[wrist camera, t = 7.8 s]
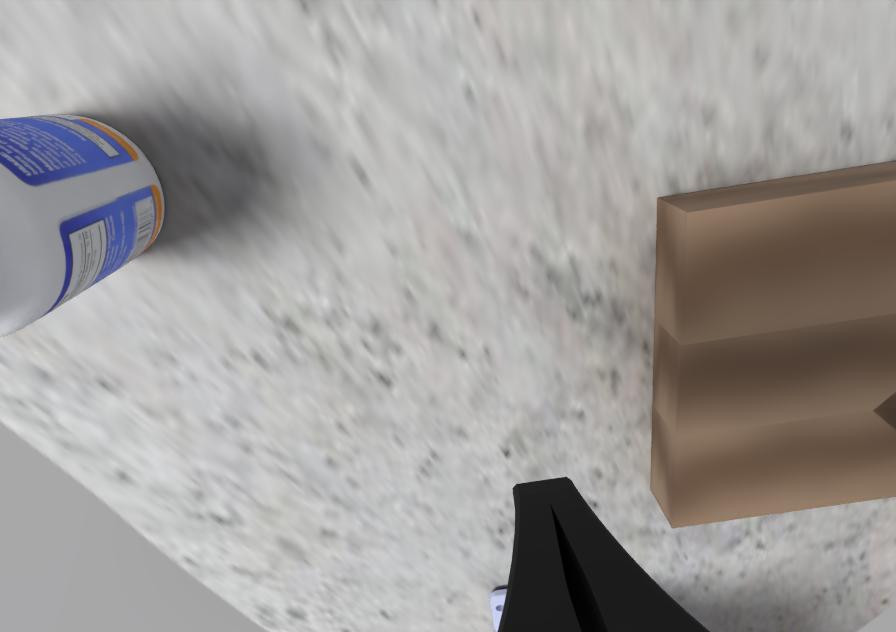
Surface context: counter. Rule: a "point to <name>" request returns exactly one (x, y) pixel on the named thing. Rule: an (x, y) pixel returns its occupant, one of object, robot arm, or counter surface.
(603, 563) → the robot arm
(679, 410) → the walnut plate
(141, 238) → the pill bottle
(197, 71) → the counter surface
